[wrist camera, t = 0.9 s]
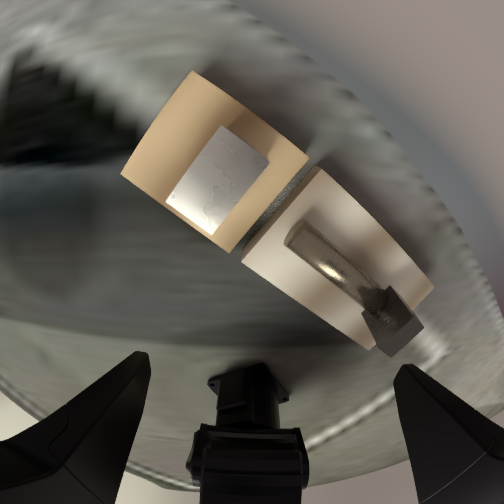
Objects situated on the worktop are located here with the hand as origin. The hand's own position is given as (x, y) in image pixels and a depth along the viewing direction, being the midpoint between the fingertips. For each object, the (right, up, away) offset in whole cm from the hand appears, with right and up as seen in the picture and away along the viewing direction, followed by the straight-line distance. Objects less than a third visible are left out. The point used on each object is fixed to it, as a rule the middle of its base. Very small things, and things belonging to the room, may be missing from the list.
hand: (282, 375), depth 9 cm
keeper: (-3, +9, +8) cm, 12 cm away
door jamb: (+2, +6, +12) cm, 13 cm away
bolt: (+5, +3, +11) cm, 12 cm away
